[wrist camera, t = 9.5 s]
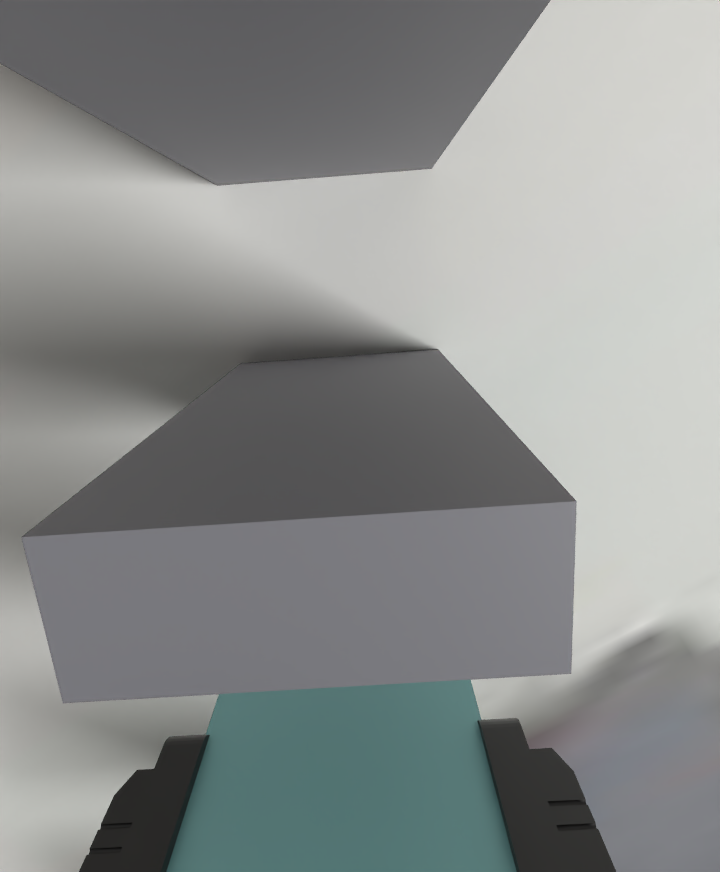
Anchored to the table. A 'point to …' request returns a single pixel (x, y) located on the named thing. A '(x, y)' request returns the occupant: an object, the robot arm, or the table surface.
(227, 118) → the domino
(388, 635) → the domino
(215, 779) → the domino
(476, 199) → the table surface
